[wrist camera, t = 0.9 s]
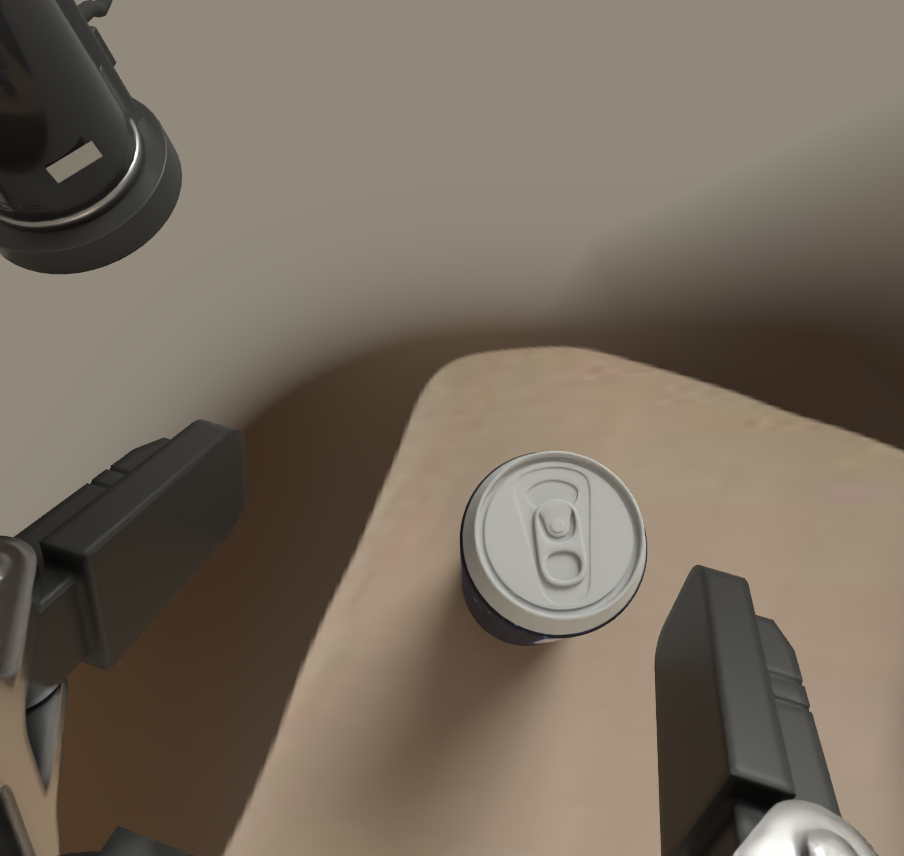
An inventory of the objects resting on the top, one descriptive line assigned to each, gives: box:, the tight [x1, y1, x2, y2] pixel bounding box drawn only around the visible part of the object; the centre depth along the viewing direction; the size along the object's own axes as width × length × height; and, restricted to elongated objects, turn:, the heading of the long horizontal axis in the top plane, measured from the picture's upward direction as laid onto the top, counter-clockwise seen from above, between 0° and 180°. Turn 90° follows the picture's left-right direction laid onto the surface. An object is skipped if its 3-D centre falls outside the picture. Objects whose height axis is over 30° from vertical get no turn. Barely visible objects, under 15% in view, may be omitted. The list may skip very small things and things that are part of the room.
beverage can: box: [460, 451, 647, 646], centre depth 23 cm, size 6×6×12 cm
